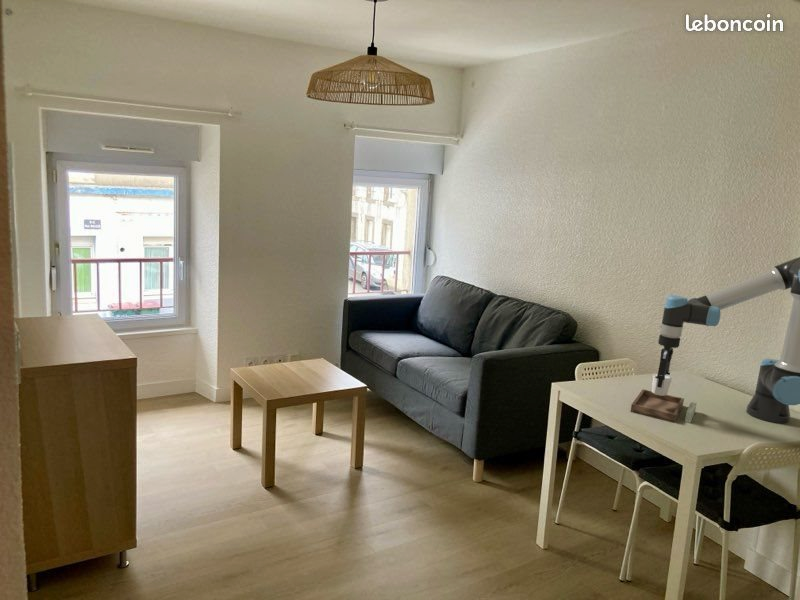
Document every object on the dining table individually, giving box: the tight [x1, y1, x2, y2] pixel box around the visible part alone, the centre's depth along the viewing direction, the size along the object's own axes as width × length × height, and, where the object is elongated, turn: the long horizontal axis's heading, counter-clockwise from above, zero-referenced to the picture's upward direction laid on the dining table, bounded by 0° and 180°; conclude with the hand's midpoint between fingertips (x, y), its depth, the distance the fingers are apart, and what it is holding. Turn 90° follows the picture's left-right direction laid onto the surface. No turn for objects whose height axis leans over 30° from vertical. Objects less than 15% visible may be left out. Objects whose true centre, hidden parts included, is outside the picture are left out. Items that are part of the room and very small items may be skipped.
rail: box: [684, 400, 698, 424], centre depth 247 cm, size 2×16×4 cm, turn 150°
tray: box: [630, 388, 685, 423], centre depth 253 cm, size 16×24×3 cm, turn 150°
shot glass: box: [651, 372, 673, 396], centre depth 252 cm, size 7×7×7 cm
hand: (659, 392), depth 252 cm, fingers closed on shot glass, 7 cm apart
